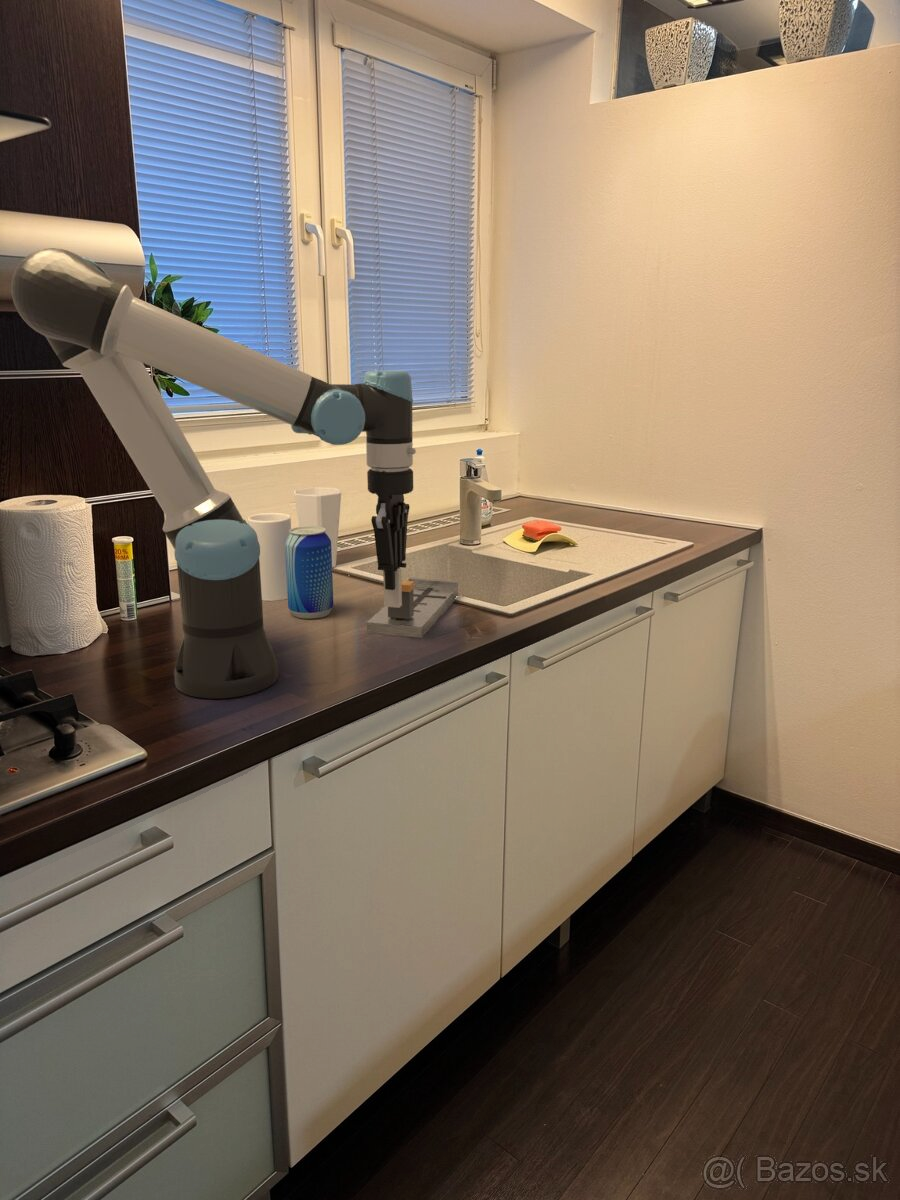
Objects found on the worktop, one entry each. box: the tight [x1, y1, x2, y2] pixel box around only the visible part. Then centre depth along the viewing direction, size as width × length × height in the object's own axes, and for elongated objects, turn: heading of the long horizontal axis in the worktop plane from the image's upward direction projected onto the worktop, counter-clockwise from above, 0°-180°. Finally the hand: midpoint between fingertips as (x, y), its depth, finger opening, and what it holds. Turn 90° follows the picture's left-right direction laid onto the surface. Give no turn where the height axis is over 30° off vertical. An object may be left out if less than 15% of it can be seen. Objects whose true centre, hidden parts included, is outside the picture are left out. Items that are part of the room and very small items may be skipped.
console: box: [366, 576, 459, 639], centre depth 162 cm, size 26×10×3 cm, turn 165°
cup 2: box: [293, 486, 342, 569], centre depth 193 cm, size 11×10×17 cm
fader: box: [388, 580, 414, 619], centre depth 153 cm, size 3×4×6 cm, turn 76°
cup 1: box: [247, 512, 292, 602], centre depth 171 cm, size 8×8×16 cm
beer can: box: [285, 526, 334, 620], centre depth 160 cm, size 8×8×16 cm
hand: (393, 605), depth 148 cm, fingers closed
